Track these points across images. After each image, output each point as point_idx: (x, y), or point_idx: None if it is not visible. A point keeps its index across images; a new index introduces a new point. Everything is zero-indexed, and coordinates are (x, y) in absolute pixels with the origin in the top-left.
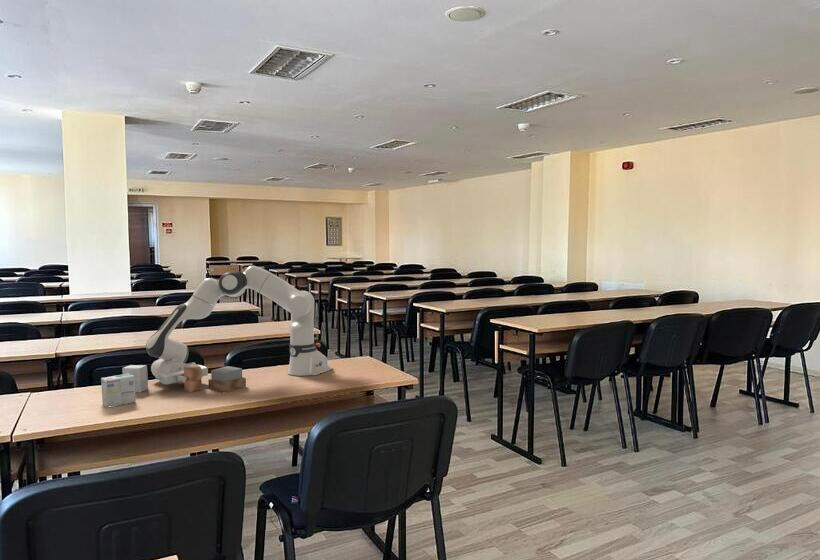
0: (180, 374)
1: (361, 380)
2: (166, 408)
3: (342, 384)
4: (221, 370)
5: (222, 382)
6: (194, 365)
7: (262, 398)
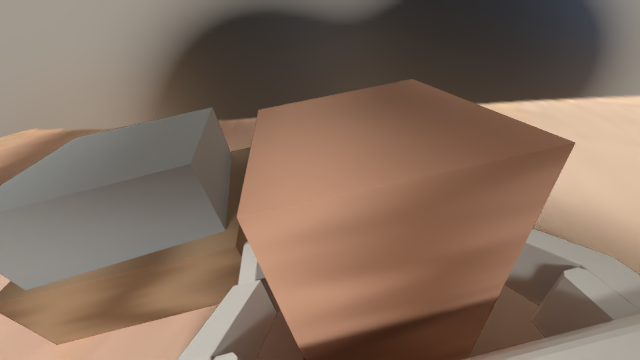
0: (612, 320)
1: (27, 146)
2: None
3: (71, 139)
4: (163, 139)
5: (243, 157)
6: (271, 178)
7: (243, 123)
